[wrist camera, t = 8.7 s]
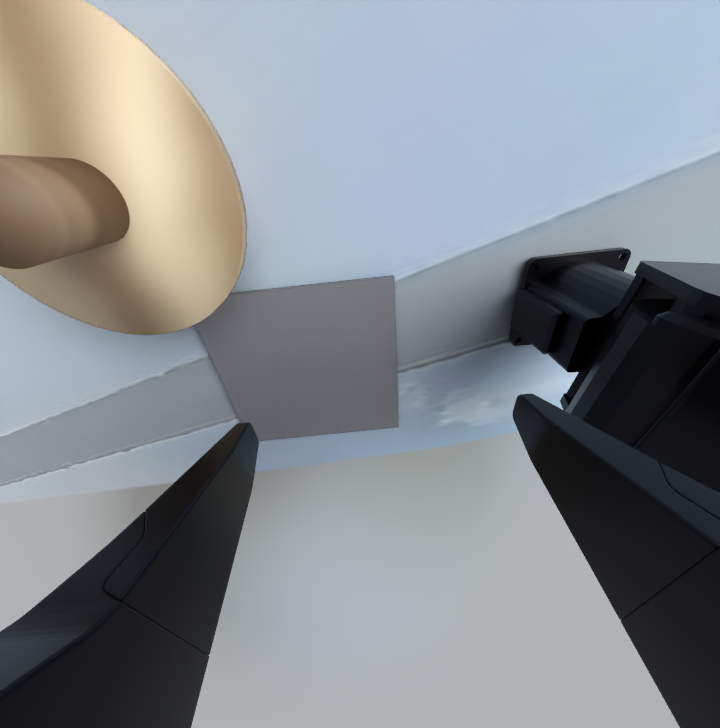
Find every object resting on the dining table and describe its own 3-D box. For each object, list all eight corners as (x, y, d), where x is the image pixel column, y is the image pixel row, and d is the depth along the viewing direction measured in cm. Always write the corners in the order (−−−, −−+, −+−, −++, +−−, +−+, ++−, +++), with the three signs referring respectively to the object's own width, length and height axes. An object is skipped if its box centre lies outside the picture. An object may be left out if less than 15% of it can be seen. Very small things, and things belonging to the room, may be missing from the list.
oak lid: (173, -46, 9) (28, -230, 5) (277, 315, 15) (253, 364, 11) (-200, 7, 9) (-637, -126, 5) (62, 339, 16) (-34, 396, 12)
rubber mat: (393, 275, 19) (394, 277, 19) (397, 423, 27) (398, 427, 26) (187, 297, 19) (183, 300, 19) (251, 437, 27) (249, 441, 27)
